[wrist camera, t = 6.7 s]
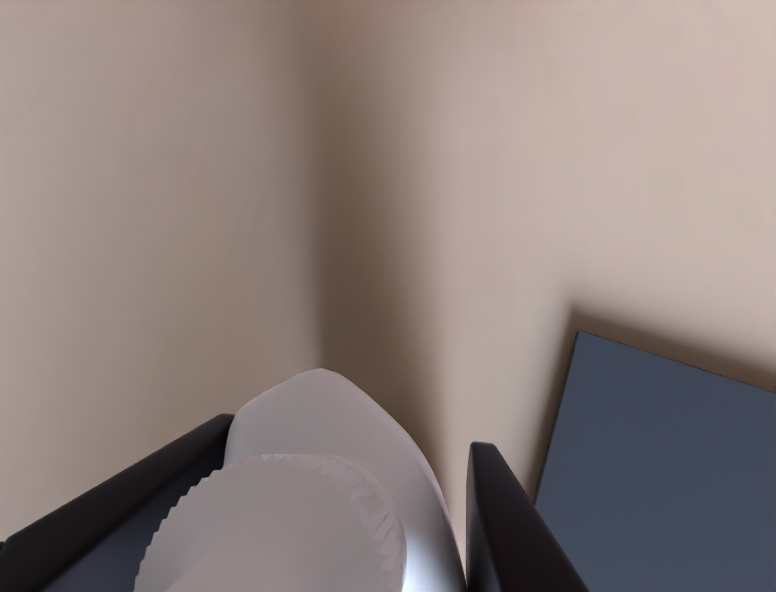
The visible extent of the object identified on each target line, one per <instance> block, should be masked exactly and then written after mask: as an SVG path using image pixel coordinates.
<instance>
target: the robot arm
mask: <svg viewBox="0 0 776 592" xmlns="http://www.w3.org/2000/svg"><path fill="white" fill-rule="evenodd" d="M234 417H235V415H234V414H220V415H218V416H216V417H214V418H212V419H211V420H209V421H207V422H206V423H204V424H202V425H200V426H199V427H197V428H195V429H194V430H192V431H190V432H188V433H187V434H185V435H183V436H182V437H180V438H178V439H176V440H175V441H173V442H171V443H170V444H168V445H166V446H164V447H163V448H161V449H159V450H158V451H156V452H154V453H152V454H151V455H149V456H147V457H146V458H144V459H142V460H140V461H139V462H137V463H135V464H134V465H132V466H130V467H128V468H127V469H125V470H123V471H122V472H120V473H118V474H116V475H115V476H113V477H111V478H110V479H108V480H106V481H104V482H103V483H101V484H99V485H98V486H96V487H94V488H92V489H91V490H89V491H87V492H86V493H84V494H82V495H80V496H79V497H77V498H75V499H74V500H72V501H70V502H68V503H67V504H65V505H63V506H61V507H60V508H58V509H56V510H55V511H53V512H51V513H49V514H48V515H46V516H44V517H43V518H41V519H39V520H37V521H36V522H34V523H32V524H31V525H29V526H27V527H25V528H24V529H22V530H20V531H19V532H17V533H15V534H13V535H12V536H10V537H9V538H7V540H6V541H5V542H0V592H133V591H134V588H135V578H136V576H137V575H138V574H139V569H140V563H141V561H142V560H144V558H145V553H146V548H147V547H148V546H149V545H151V542H152V538H153V535H154V533H155V532H158V531H159V528H160V525H161V522H162V520H163V519H167V517H168V514H169V512H170V509H171V507H176V506H177V504H178V502H179V499H180V497H181V496H186V495H187V493H188V492H189V490H190V488H191V487H192V486H197V485H198V484H199V482H200V481H201V479H202V478H206V477H209V476H210V475H211V473H212V472H213V471H214V470H221V469H222V468H223V465H224V456H225V448H226V443H227V438H228V433H229V429H230V426H231V424H232V422H233V419H234ZM466 581H467V592H590V591H589V589H588V588H587V586H586V585H585V583H584V582H583V580H582V578H581V577H580V575H579V574H578V572H577V571H576V569H575V568H574V566H573V565H572V563H571V562H570V560H569V558H568V557H567V555H566V554H565V552H564V551H563V549H562V548H561V546H560V545H559V543H558V542H557V540H556V538H555V537H554V535H553V534H552V532H551V531H550V529H549V528H548V526H547V525H546V523H545V521H544V520H543V518H542V517H541V515H540V514H539V512H538V511H537V509H536V508H535V506H534V505H533V503H532V501H531V500H530V498H529V497H528V495H527V494H526V492H525V491H524V489H523V488H522V486H521V485H520V483H519V481H518V480H517V478H516V477H515V475H514V474H513V472H512V471H511V469H510V468H509V466H508V465H507V463H506V461H505V460H504V458H503V457H502V455H501V454H500V452H499V451H498V449H497V448H496V446H495V445H494V444H492V443H484V442H472V443H471V445H470V452H469V461H468V470H467V483H466Z"/></svg>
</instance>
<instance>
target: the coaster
mask: <svg viewBox="0 0 776 592" xmlns="http://www.w3.org/2000/svg"><path fill="white" fill-rule="evenodd" d="M533 505H534V506H535V508H536V509H537V511H538V512H539V514H540V515H541V517H542V518H543V520H544V521H545V523H546V525H547V526H548V528H549V529H550V531H551V532H552V534H553V535H554V537H555V538H556V540H557V542H558V543H559V545H560V546H561V548H562V549H563V551H564V552H565V554H566V555H567V557H568V558H569V560H570V562H571V563H572V565H573V566H574V568H575V569H576V571H577V572H578V574H579V575H580V577H581V578H582V580H583V582H584V583H585V585H586V586H587V588H588V589H589V591H590V592H776V393H775V392H772V391H768V390H765V389H762V388H759V387H756V386H753V385H750V384H747V383H743V382H740V381H737V380H734V379H731V378H728V377H725V376H722V375H718V374H715V373H712V372H709V371H706V370H703V369H700V368H697V367H693V366H690V365H687V364H684V363H681V362H678V361H675V360H672V359H668V358H665V357H662V356H659V355H656V354H653V353H650V352H647V351H643V350H640V349H637V348H634V347H631V346H628V345H625V344H622V343H618V342H615V341H612V340H609V339H606V338H603V337H600V336H597V335H593V334H590V333H587V332H584V331H581V330H579V331H578V332H577V333H576V336H575V340H574V344H573V348H572V352H571V356H570V360H569V364H568V368H567V372H566V376H565V380H564V383H563V387H562V391H561V395H560V399H559V403H558V407H557V411H556V415H555V419H554V423H553V426H552V430H551V434H550V438H549V442H548V446H547V450H546V454H545V458H544V462H543V466H542V469H541V473H540V477H539V481H538V485H537V489H536V493H535V497H534V501H533Z"/></svg>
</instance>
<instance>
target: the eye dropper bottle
mask: <svg viewBox="0 0 776 592" xmlns="http://www.w3.org/2000/svg"><path fill="white" fill-rule="evenodd" d="M133 592H467V584H466V580H465V575H464V571H463V566H462V562H461V558H460V554H459V550H458V546H457V542H456V539H455V535H454V531H453V527H452V524H451V520H450V516H449V512H448V509H447V506H446V503H445V499H444V497H443V494H442V491H441V488H440V486H439V484H438V481H437V479H436V477H435V475H434V473H433V471H432V469H431V467H430V465H429V463H428V462H427V460H426V458H425V457H424V455H423V453H422V452H421V450H420V449H419V447H418V446H417V445H416V443H415V442H414V441H413V439H412V438H411V437H410V436H409V434H408V433H407V432H406V431H405V430H404V429H403V428H402V427H401V425H400V424H399V423H398V422H397V421H395V420H394V419H393V418H392V417H391V416H390V415H389V414H388V413H387V412H386V411H385V410H384V409H383V408H382V407H380V406H379V405H378V404H377V403H376V402H375V401H374V400H373V399H371V398H370V397H369V396H368V395H367V394H366V393H365V392H363V391H362V390H361V389H360V388H358V387H357V386H356V385H355V384H353V383H352V382H351V381H349V380H348V379H346V378H345V377H343V376H342V375H340V374H339V373H336V372H333V371H329V370H326V369H323V368H318V369H312V370H307V371H304V372H302V373H300V374H297V375H295V376H293V377H291V378H289V379H287V380H285V381H283V382H281V383H279V384H277V385H275V386H273V387H272V388H270V389H268V390H266V391H264V392H263V393H261V394H259V395H258V396H256V397H255V398H253V399H251V400H250V401H248V402H247V403H246V404H245V405H244V406H243V407H242V408H241V409H240V410H239V411H238V412H237V413H236V415H235V417H234V419H233V422H232V424H231V426H230V429H229V433H228V438H227V443H226V448H225V456H224V465H223V468H222V469H221V470H214V471H213V472H212V473H211V475H210V476H209V477H206V478H202V479H201V481H200V482H199V484H198V485H197V486H192V487H191V488H190V490H189V492H188V493H187V495H186V496H181V497H180V499H179V502H178V504H177V506H176V507H171V509H170V512H169V514H168V517H167V519H163V520H162V522H161V525H160V528H159V531H158V532H155V533H154V535H153V538H152V542H151V545H149V546H148V547H147V548H146V553H145V558H144V560H142V561H141V563H140V569H139V574H138V575H137V576H136V578H135V588H134V591H133Z"/></svg>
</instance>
